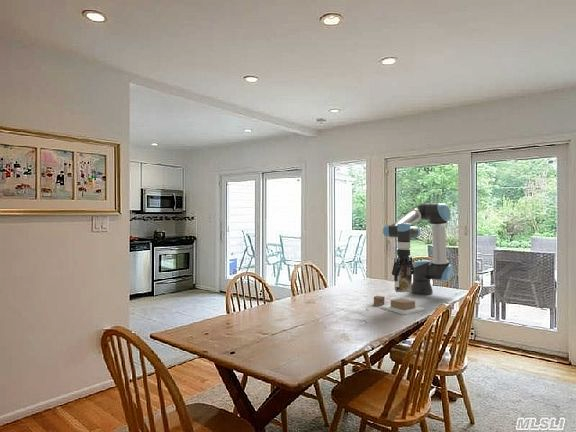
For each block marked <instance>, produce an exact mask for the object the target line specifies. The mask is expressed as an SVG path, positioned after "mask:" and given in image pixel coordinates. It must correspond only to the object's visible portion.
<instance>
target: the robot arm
mask: <svg viewBox="0 0 576 432" xmlns="http://www.w3.org/2000/svg"><path fill="white" fill-rule="evenodd" d="M450 219H451V210H450V208H449V205H448V204H446V203H441V202H438V203H437V202H435V203H433V202H431V203H430V202H429V203H428V202H427V203H421V204H418V205H416V206H413V207H412V208H410V209H409V210H408V213H406V214H404V215H403V216H402V217H401V218H399V219H398V220H396V221H395V222H393V223H392V224H391V225H389V224H388V225H387V224H386V225H384V227H383V228H382V233H383V235H384V237H385V238H386V237H388V238H397V239H396V240H397V241H396V242H397V243H396V245H397V246H396V247H397V250H396V255H397V258H395V257H394V260H393V262H394V263H393V266H392V270H391V275H392V276H394V277H393V278H394V279H393V281H394V288H395V287H399V276H398V275H399V272H400V270H401V266H403V265H404V264H405V265H406V264H407V265H409V264H410V265H411V266H412V280H413V281H412V292H410V293H411V294H414V295H422V296H423V295H424V296H427V295H433V292H434V291H433V288H432V284H431V280H433V281H434V280H435V281H441V282H448V281H450V280H451V278H452V277H453V272H454V268H453V265H452V264H450V260H448V256H447V239H446V238H447V237H446V235H447V233H446V225H448V222H449V221H450ZM419 221H428V222H429V225H431V237H432V239H431V240H432V251H433V253H432V257H433V258H432V260H428V259H427V260H426V259H425V260H423V259H422V260H416V261H413V257H412V256H410V255H411V250H410V249H411V239H416V238H419V237H420V236H421V229H420V228H419V227H418V226H415V225H413V224H415V223H417V222H419ZM398 265H399V267H398ZM396 273H397V274H396Z"/></svg>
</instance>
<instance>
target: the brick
mask: <svg viewBox="0 0 576 432" xmlns="http://www.w3.org/2000/svg"><path fill="white" fill-rule="evenodd" d="M373 305H375V306H379V305H380V306H379V307H381V306H384V305H385V296H382V295H375V296H373Z"/></svg>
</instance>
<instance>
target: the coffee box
mask: <svg viewBox="0 0 576 432" xmlns="http://www.w3.org/2000/svg"><path fill="white" fill-rule="evenodd" d="M398 267H399V265H398ZM396 274H397V273H396ZM398 276H399V287H395V286H394V291H395V292H396V293H411V292H412V283H413V281H412V280H413V274H412V266H411V265H410V264H409V265H407V264H406V265H405V264H404V265H403V266H401V270H400V272H399V275H398Z"/></svg>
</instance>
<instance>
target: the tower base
mask: <svg viewBox="0 0 576 432" xmlns="http://www.w3.org/2000/svg"><path fill="white" fill-rule="evenodd" d="M380 308H381V309H383V310H387V311H390V312H394V313H398V314H402V315H405V316H406V315H410V314H414V313H420V312H423V311H424V312H425V311H426V308H425V307H422V306H421V307H420V306H417V305H416V301H415V300H412V299H408V298H404V297H400V298H395V299H391V300H390V304H384V305H382V306H380Z"/></svg>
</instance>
